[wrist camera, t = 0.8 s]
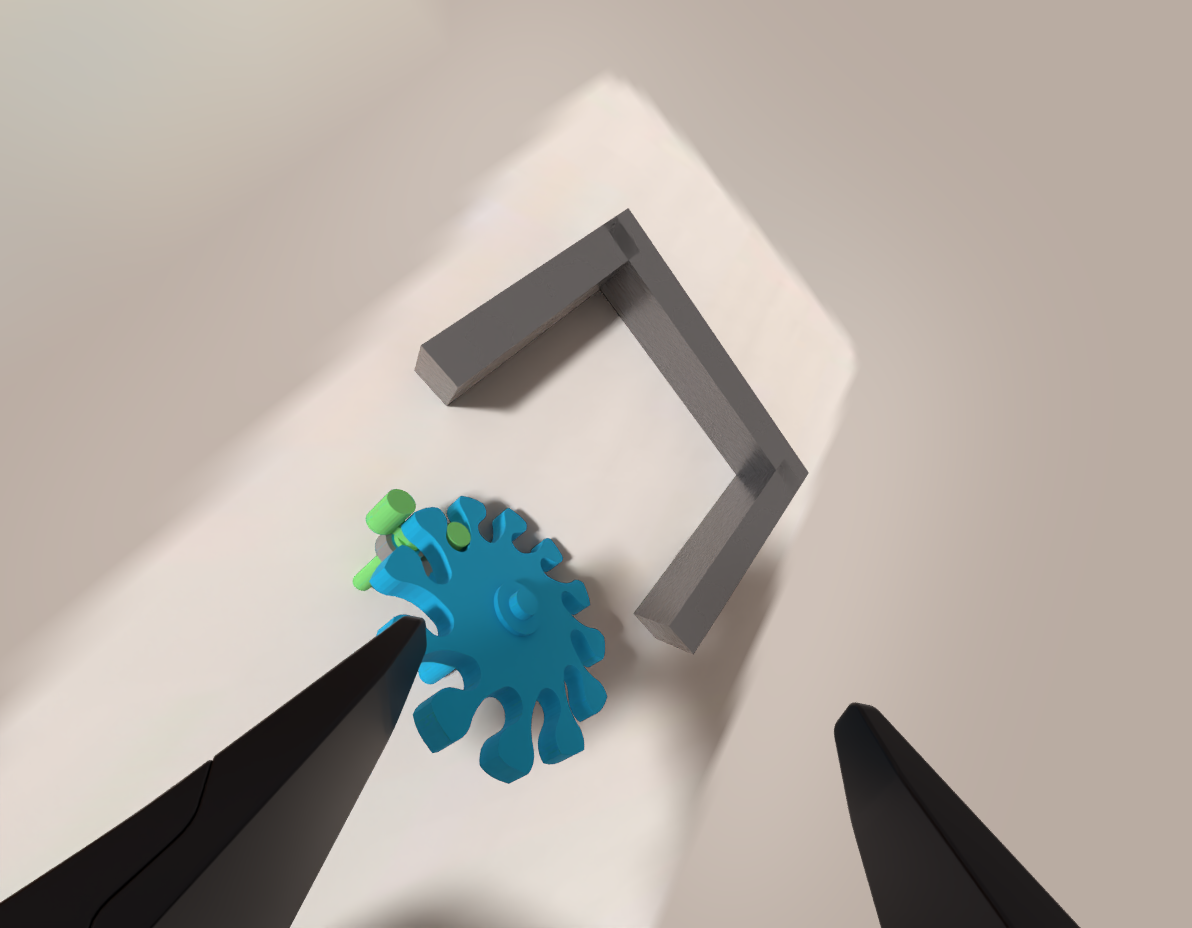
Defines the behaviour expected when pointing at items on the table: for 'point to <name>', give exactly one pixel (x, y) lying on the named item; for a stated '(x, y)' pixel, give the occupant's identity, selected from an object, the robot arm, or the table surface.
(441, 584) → the gear
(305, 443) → the table surface
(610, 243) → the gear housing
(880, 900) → the robot arm
